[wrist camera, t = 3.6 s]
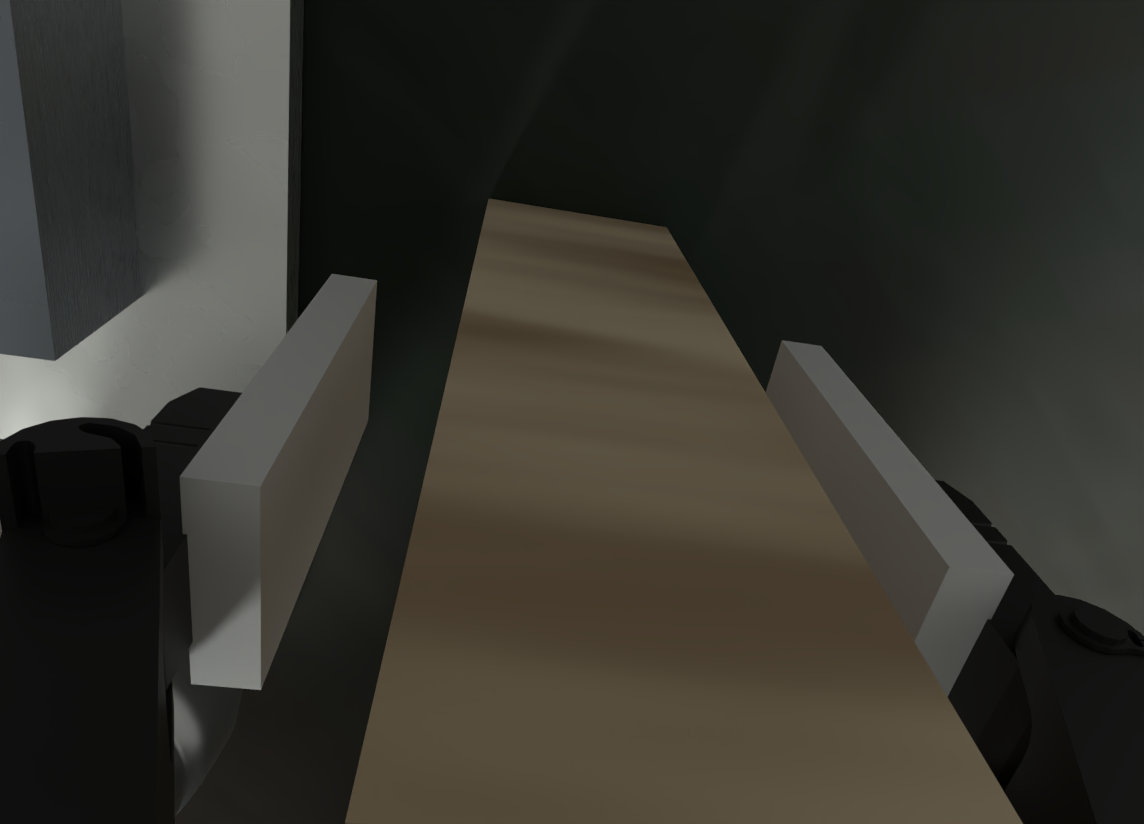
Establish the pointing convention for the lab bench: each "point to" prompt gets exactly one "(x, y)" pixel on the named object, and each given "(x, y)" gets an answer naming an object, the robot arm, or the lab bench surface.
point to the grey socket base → (144, 201)
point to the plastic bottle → (199, 729)
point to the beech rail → (638, 578)
